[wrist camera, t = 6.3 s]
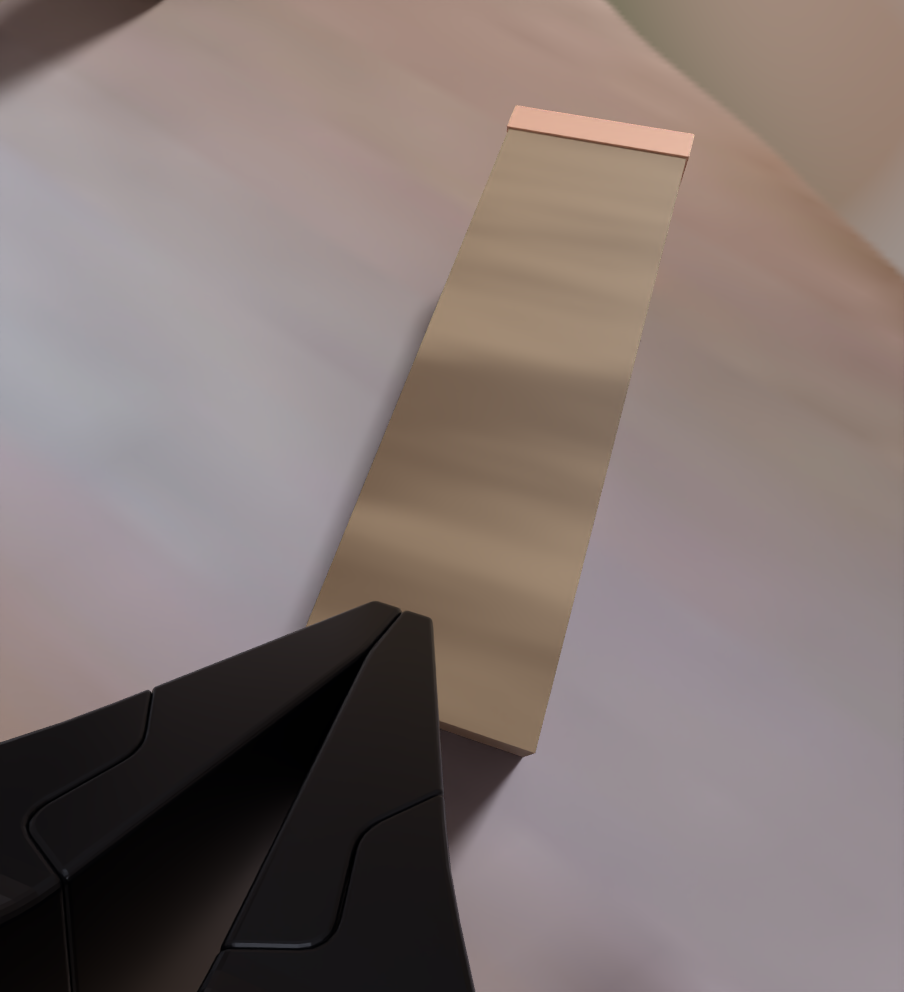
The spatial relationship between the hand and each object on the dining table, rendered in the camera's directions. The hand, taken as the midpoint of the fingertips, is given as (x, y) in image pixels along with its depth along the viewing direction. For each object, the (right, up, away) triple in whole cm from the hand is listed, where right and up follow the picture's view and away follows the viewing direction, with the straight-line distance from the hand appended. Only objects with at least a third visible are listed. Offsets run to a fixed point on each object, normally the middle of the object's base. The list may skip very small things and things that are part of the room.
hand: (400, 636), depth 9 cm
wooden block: (0, -3, +4) cm, 5 cm away
